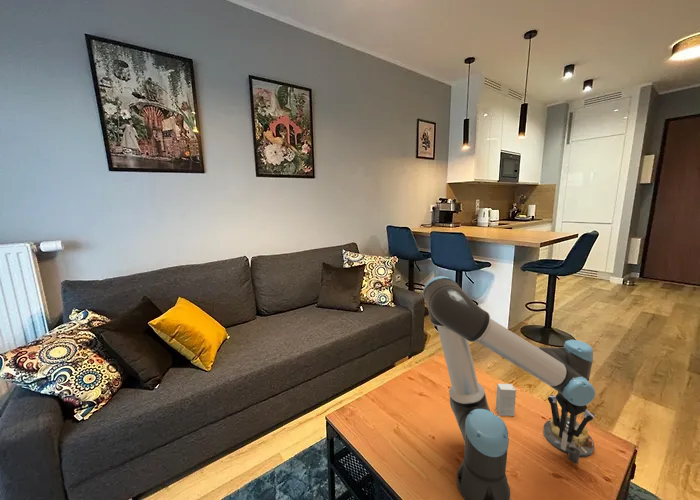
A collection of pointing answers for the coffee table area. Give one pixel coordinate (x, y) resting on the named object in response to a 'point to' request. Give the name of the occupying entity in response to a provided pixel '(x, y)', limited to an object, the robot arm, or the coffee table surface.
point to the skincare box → (505, 399)
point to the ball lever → (576, 441)
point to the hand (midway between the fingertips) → (564, 447)
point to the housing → (584, 449)
